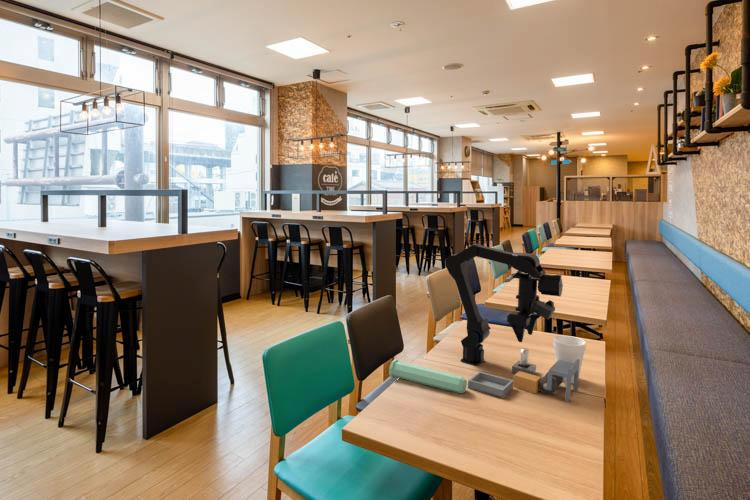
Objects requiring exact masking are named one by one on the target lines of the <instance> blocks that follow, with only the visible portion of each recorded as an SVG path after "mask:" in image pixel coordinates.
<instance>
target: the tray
mask: <svg viewBox="0 0 750 500" xmlns="http://www.w3.org/2000/svg"><path fill="white" fill-rule="evenodd" d="M467 388H468V389H471V390H473V391H478V392H480V393H482V394H483V393H484V394H487V395H491V396H494V397H497V398H500V399H504V397H506V396H507V395H508V394H509V393H510V392H511V391H513V389H514V380H511V379H508V378H505V377H501V376H498V375H494V374H490V373H486V372H482V371H478V372H477V373H475V374H474V375H473V376H472V377H470V378H469V379H468V380H467Z"/></svg>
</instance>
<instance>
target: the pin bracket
mask: <svg viewBox="0 0 750 500" xmlns="http://www.w3.org/2000/svg"><path fill="white" fill-rule="evenodd" d="M520 361H521V360H518V361H516V362H515V363H514V364H513V365H511V373H512V374H514V375H515V374H516V373H517V372H519V371H521V372H525V373H528V374H532V375H535V373H536V371H537V364H534V363H529V362H528V368H524V367H520Z"/></svg>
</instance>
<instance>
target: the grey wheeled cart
mask: <svg viewBox="0 0 750 500" xmlns="http://www.w3.org/2000/svg"><path fill="white" fill-rule="evenodd" d="M579 360H580V359H577V360H576V361H575V362H574V363H571V362H567V361H562V360H558V361H557V362H556V363H554V364H553V365H552V366H551V367H550V368H549V369H548V371H547V372H546V373H545V375H544V376H542V377H541V380H540V381H539V383H538V387H539V389H540V390H539V391H540V392H541V393H542V394H545V395H547V396H548V395H549V396H551V395H553V394H554V393H555V392H556V391H557V390H558V387H560V386H561V385H562V384H563V383H564V382H563V377H565V378H567V382H566V384H565V385H566V387H565V401H566V402H570V401H571V387H572V383H571V377H572V376H573V375H574V383H573V389H572V390H573V391H578V387H579V379H578V375H579V376H580V374H579Z"/></svg>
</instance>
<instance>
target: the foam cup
mask: <svg viewBox="0 0 750 500" xmlns="http://www.w3.org/2000/svg"><path fill="white" fill-rule="evenodd" d="M586 348H587V342H586V340H584V339H582V338H580V337H576V336H572V335H570V336H569V335H558V336H554V337H553V350H554V351H553V352H554V362H555V363H556V362H557V361H558V360H562V361H567V362H571V363H574V362H575V361H576V360H577V359H580V360H579V375H578V380H579V379H580V373H581V369H582V363H583V360H584V355H585V352H586V350H587V349H586ZM555 363H554V364H555ZM566 382H567V378H565V377H563V382H562V383H566ZM571 384H574V375H573V376H572V377H571Z"/></svg>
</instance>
